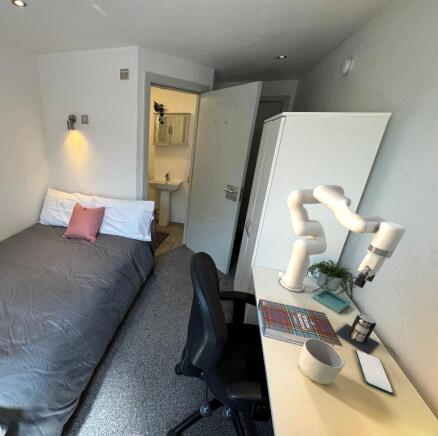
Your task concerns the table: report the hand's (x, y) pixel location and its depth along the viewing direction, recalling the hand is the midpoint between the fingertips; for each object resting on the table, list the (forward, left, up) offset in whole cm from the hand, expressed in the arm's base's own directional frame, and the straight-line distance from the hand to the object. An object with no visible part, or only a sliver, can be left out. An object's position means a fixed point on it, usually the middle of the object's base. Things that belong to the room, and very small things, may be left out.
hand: (362, 283), depth 104 cm
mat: (+7, -3, -25) cm, 27 cm away
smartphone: (+17, -17, -25) cm, 35 cm away
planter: (+6, -39, -26) cm, 47 cm away
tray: (-11, +15, -25) cm, 31 cm away
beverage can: (+7, -3, -25) cm, 26 cm away
